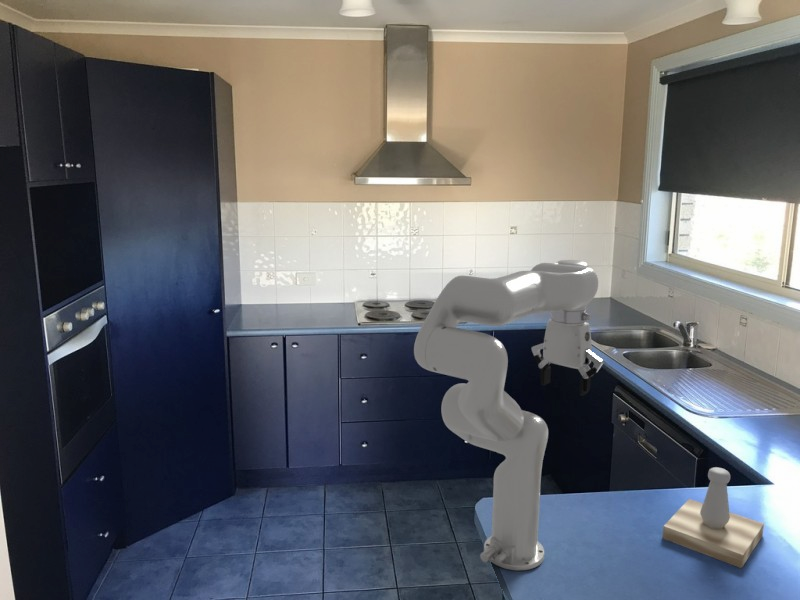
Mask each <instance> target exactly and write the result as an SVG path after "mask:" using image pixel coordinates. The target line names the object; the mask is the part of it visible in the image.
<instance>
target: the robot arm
mask: <svg viewBox="0 0 800 600" xmlns="http://www.w3.org/2000/svg"><path fill="white" fill-rule="evenodd" d="M598 289H599V277H598V275H597V273H596V272H595V270H594V269H592V268H591V267H589V265H588V262H585V261H582V260H575V259H562V260H561V259H560V260H558V261H556V262H541V263H539V264H536V265H534V267H532V268H531V269H530V270H520V271H516V272H514V273H510V274H508V275H504V276H500V277H497V278H488V277H479V276H470V275H458V276H455V277H454V278H452V279H451V280H449V281H448V283H447V284H446V285H445V286H444V287H443V289H442V290H441V292H440V294H439V295H438V297H437V298H436V300H435V301H434V303H433V305H432V307H431V309H430V311H428V315H427V316H426V318H425V319H424V321H423V323H422V325H421V327H420V328H419V331H418V333H417V334H416V338H415V340H414V341H415V342H414V346H413V355H414V359H415V361H416V362H417V364H418V365H419V367H421V368H423V369H424V370H427V371H429V372H432V373H437V374H441V375H446V376H449V377H454V378H457V379H462V380H465V381H468V382H467V383H463V382H462V383H457V384H453V386H451V387H450V388H449V389H448V390H447V391H446V392H445V394H444V396H443V398H442V401H441V409H440V410H441V417H442V420H443V423H444V425H445V426H446V427H447V428H448V430H450V431H451V432H452V433H453V434H455V435H457V436H458V437H459V438H461V439H462V440H464V441H465V442H467V443H468V444H470V445H473V446H475V447H479V448H482V449H485V450H489V451H491V452H494V453H495V452H496V453H497V454H500V455H503V456H504V457H505V459H504V460H503V461H502V462H501V463H499V465H498V466H497V467H496V468H495V470H494V474H493V491H492V492H493V493H492V520H491V522H492V523H491V535H490V536H489V537H487V538H486V539H485V541H484V544H483V552H481V553H480V555H479V557H480V560H481V561H482V562H483V563H488V561H490V562H491V563H492V564H494V565H495V566H497V567H499V568H503V569H506V570H510V571H529V570H532V569H534V568H536V567H538V566H540V565H541V564H542V563H543V562H544V560H545V553H546V552H545V548H544V547H543V545H542V544H541V542H539V541H538V539H539V538H538V537H539V522H540V521H539V520H540V519H539V517H540V504H541V503H540V502H541V501H540V498H541V479H542V469H543V462H544V461H543V460H544V456H545V451H546V448H547V445H548V444H547V443H548V439H549V428H548V424H547V423H546V421H545V420H544V419H543V418H542V417H541V416H539V415H537V414H535V413H533V412H530V411H526V410H523V409H522V408H521V407H520V405H519V403H517V401H516V400H515V399H514V398H512V396H510V395H509V393H507V391H505V385H506V384H505V383H506V378H507V372H508V367H509V365H508V363H509V359H508V352H507V349H506V348H505V346H504V344H503V342H502V341H500V340H499V339H497V338H496V337H495V336H492V335H491V334H488V333H484V332H480V331H476V330H475V331H474V330H471V329H466V328H460V327H458V325H459V322H460V321H461V322H462V321H463V322H468V323H474V324H478V325H485V326H491V327H492V326H493V327H500V326H501V327H502V326H505V325H509V324H511V323H513V322H516V321H517V320H520V319H523V318H525V317H527V316H530V315H533V314H548V313H550V318H549V319H548V321H547V324H546V328H545V332H544V337H543V342H542V343H539V344H537V345H533V346H531V352H532V354H533V356H534V357H533V359H534V360H535V361H536V363H537V365H538V368H539V370H540V371H539V379H540V386H546V385H548V384H550V383H551V371H552V367H551V366H550V364H553V365H558V366H563V367H566V368H570V369H576V370H578V372H579V373H580V375H581V376H582V377H581V378H579V391H578V392H579V396H585V395H586V394H588V393H589V392H590V390H591V382H592V381H591V378H592V377H593V376H594V375H595V374H597V373H598V372H599V370H600V369H601V368H602V366H603V364H604V360H603V359H602V358H601V357H599V356H598V355H596V353H594V352H592V349H593V347H592V333H591V325H590V323H589V322H587V321H591V320H592V317H593V316H592V314H591V313H588V309H587V306H588V304H589V303H590V302H592V301H593V300H594V298H595V297H596V294H597V293H598ZM541 350H542V353H541ZM591 363H593V367H592V368H591V367H590V364H591Z"/></svg>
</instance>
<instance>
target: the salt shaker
mask: <svg viewBox="0 0 800 600" xmlns="http://www.w3.org/2000/svg"><path fill="white" fill-rule="evenodd" d="M707 477H708V480H709V481H710V482H709V484H708V488H707V491H706V493H705V497H704V499H703V502H702V503H703V505H702V508H701V511H700V514H701V517H702V519H703V522H704V525H705V526H707V527H709V528H711V529H717V530H721V529H722V528H723V527H724V526H725V525H726V524H727V523H728V521H729V519H730V513H731V512H730V507H729V506H730V505H729V496H728V495H729V494H728V483H729V482H730V480H731V474H730V472H729V471H728V470H726V469H725V468H722V467H717V466H715V467H711V468H709V470H708V473H707ZM729 512H730V513H729Z"/></svg>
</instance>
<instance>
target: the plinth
mask: <svg viewBox="0 0 800 600" xmlns="http://www.w3.org/2000/svg"><path fill="white" fill-rule="evenodd" d="M702 505H703V502H699V501H698V500H694V499H692V498H689V499H687V501H686V502H685V503H684V504H683V505H681V507H680V508H679V509H678V510H677V511H676V512H675V513H674V514H673V515H672V516H671V518H670V519H669V520H667V522H666V523H664V525H663V527H662V539H663V540H665V541H668V542H670V543H671V542H672V543H674V544H677V545H678V546H679V545H680V546H682V547H684V548H687V549H689V550H692V551H695V552H698V553H699V554H702V555H706V556H708V557H711V558H713V559H716V560H719V561H721V562H722V563H723V562H724V563H726V564H728V565H731V566H735V567H737V568H739V569H742V568H743V567H744V565H745V563H746V562H747V560H748V559H749V558H750V556H751V555H752V553H753V551H754V550H755V549H756V547H757V545H758V544H759V542H760V540H761V539H762V537H763V536H764V535H763V534H764V528H765V523H763V522H760V521H758V520H754V519H751V518H748V517H746V516H742V515H739V514H737V513H736V514H735V513H734V512H730V511H729V513H730V519H729V521H728V523H727V524H726V525H725V526H724V527H723V528H722V529H721V530H717V529H711V528H709V527H707V526H705V525H704V522H703V519H702V517H701V514H700V511H701V508H702Z"/></svg>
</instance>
